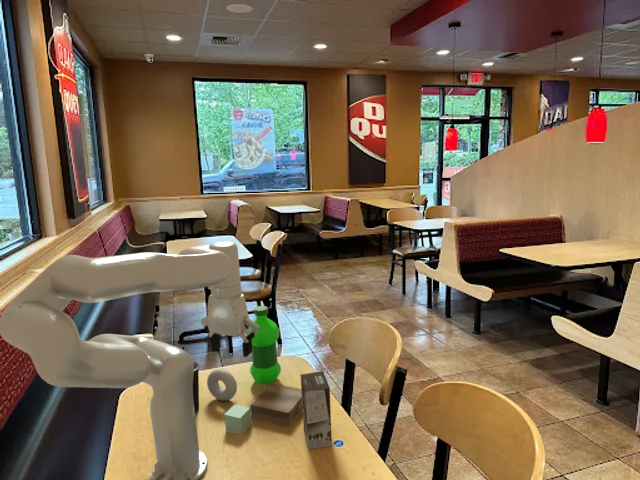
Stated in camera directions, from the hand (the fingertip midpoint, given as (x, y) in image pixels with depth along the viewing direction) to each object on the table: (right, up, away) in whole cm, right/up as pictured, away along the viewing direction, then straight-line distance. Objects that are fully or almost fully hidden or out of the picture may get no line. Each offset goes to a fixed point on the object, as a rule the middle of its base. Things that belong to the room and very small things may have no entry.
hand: (231, 352), depth 117 cm
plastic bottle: (+6, -17, +28) cm, 33 cm away
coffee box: (+23, -22, -1) cm, 32 cm away
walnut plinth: (+12, -20, +12) cm, 26 cm away
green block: (+1, -22, +5) cm, 22 cm away
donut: (-6, -19, +18) cm, 27 cm away
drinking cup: (-15, -21, +13) cm, 29 cm away
